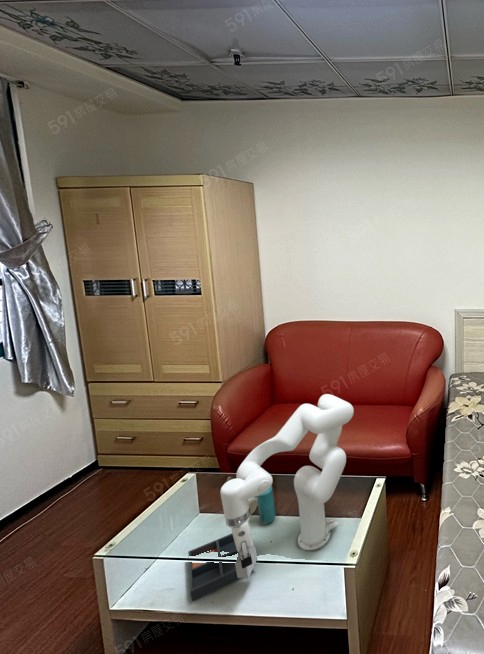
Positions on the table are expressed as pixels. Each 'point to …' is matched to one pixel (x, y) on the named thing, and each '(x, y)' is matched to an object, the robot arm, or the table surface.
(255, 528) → the table surface
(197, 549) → the tray
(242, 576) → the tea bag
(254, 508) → the ceramic mug
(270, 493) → the beverage bottle
